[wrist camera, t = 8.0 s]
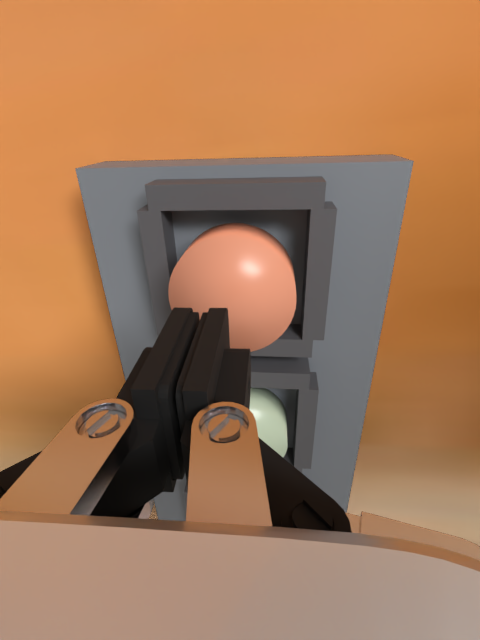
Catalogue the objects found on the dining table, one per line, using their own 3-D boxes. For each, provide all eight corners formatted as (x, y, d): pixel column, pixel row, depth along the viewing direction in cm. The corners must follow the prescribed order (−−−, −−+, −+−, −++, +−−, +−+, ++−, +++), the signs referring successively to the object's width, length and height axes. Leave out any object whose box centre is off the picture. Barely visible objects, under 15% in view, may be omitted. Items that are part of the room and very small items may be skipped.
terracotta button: (297, 222, 14) (299, 236, 12) (292, 330, 17) (293, 355, 15) (173, 223, 15) (159, 237, 13) (186, 328, 17) (176, 351, 15)
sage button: (288, 384, 19) (289, 410, 18) (285, 448, 22) (285, 476, 20) (198, 380, 20) (190, 405, 18) (205, 443, 22) (198, 471, 21)
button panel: (392, 154, 17) (427, 165, 13) (334, 509, 30) (343, 567, 26) (104, 161, 18) (56, 173, 14) (171, 497, 31) (155, 552, 27)
